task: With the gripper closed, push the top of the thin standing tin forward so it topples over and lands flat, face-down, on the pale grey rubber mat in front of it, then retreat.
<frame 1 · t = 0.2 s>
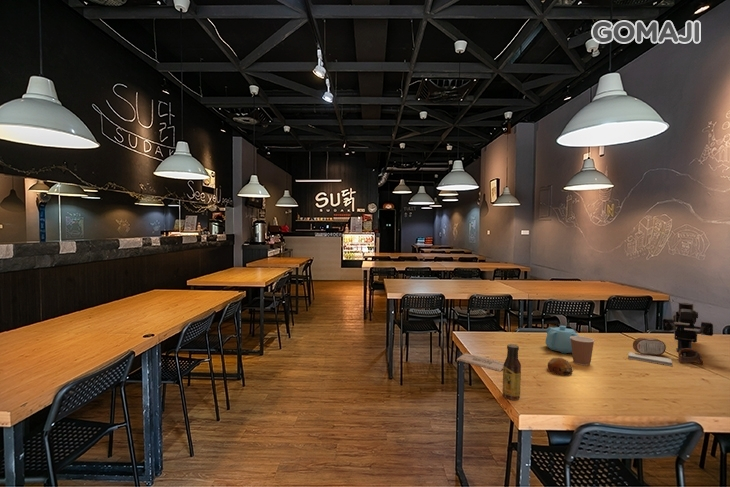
hand: (688, 330, 170), 17 cm above the table, tool horizontal, fingers open, 9 cm apart
decorative pot: (562, 351, 190), on the table
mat: (649, 359, 177), on the table
coffee cup: (581, 363, 170), on the table
pottery mug: (688, 363, 172), on the table
sauce bottle: (511, 397, 132), on the table
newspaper: (482, 364, 170), on the table
bread roll: (560, 372, 159), on the table
tin: (649, 354, 184), on the table, touching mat
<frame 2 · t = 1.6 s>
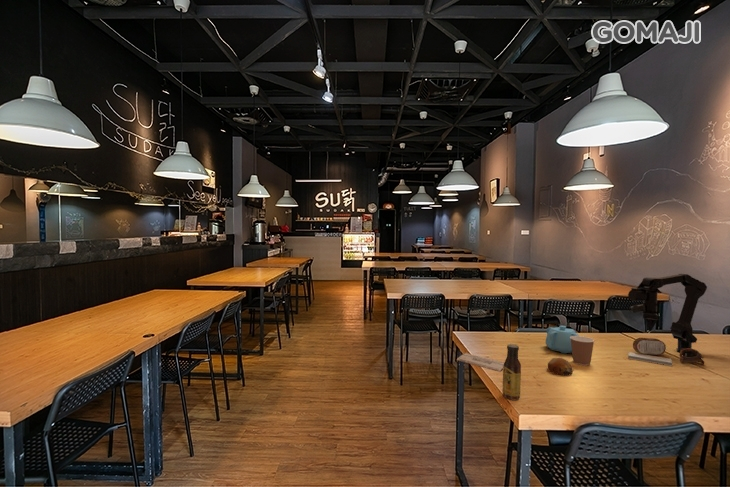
hand: (649, 329, 189), 12 cm above the table, tool pointing down, fingers open, 8 cm apart
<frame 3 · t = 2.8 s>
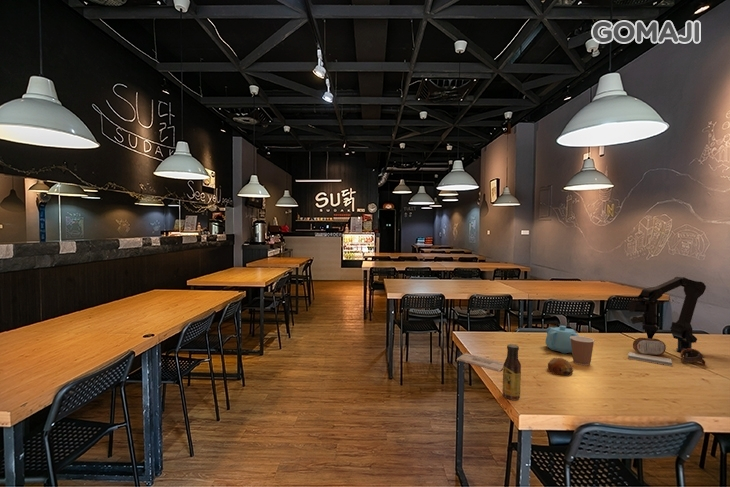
hand: (649, 340, 189), 6 cm above the table, tool pointing down, fingers closed
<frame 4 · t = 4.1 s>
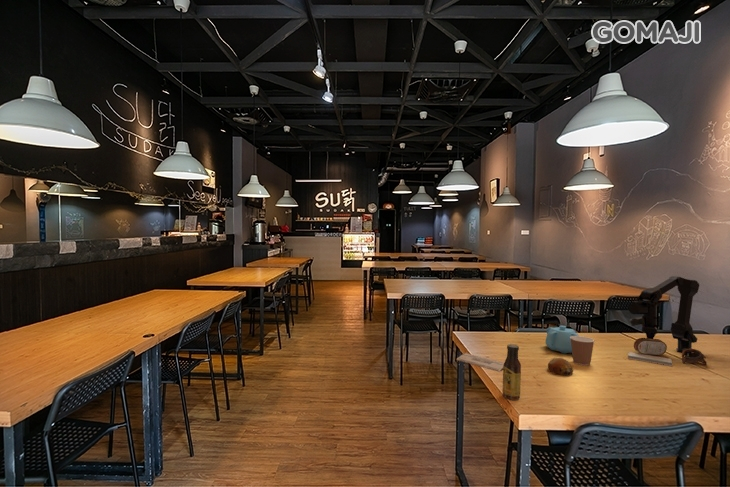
hand: (649, 343, 186), 6 cm above the table, tool pointing down, fingers closed
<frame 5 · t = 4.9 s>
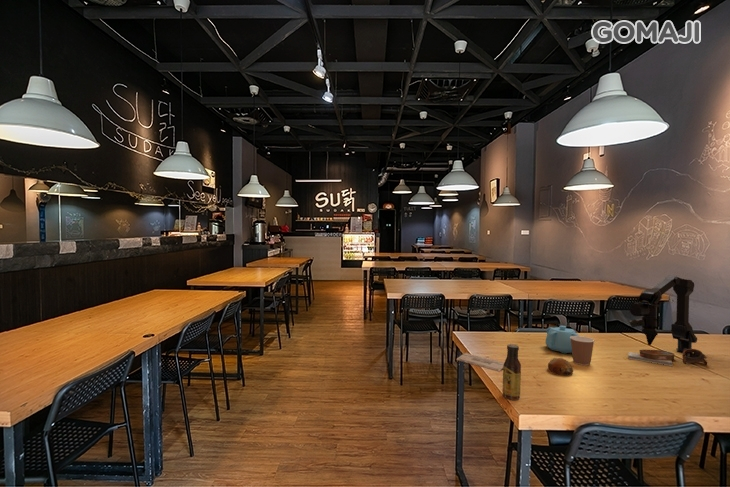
hand: (649, 344, 183), 6 cm above the table, tool pointing down, fingers closed
tin: (650, 352, 183), point 1 cm above the table, touching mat
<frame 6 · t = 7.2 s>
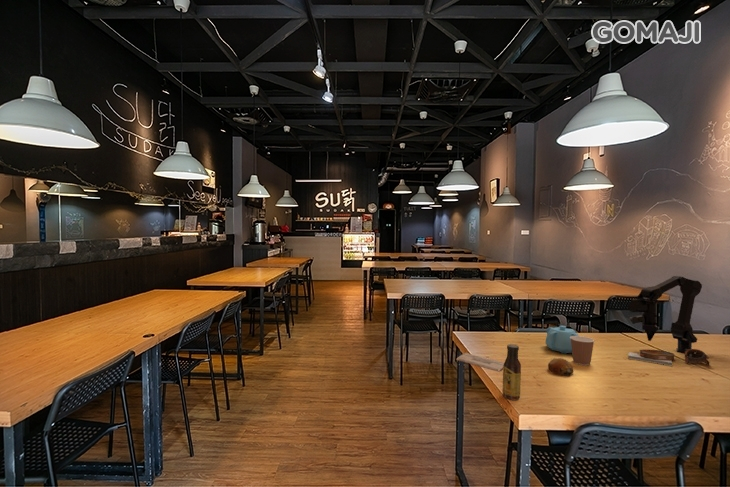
hand: (649, 340, 187), 6 cm above the table, tool pointing down, fingers closed
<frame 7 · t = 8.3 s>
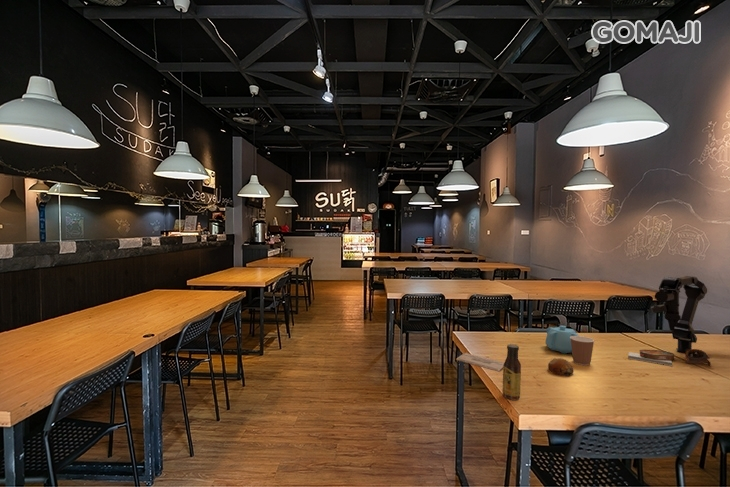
hand: (671, 330, 184), 13 cm above the table, tool pointing down, fingers closed
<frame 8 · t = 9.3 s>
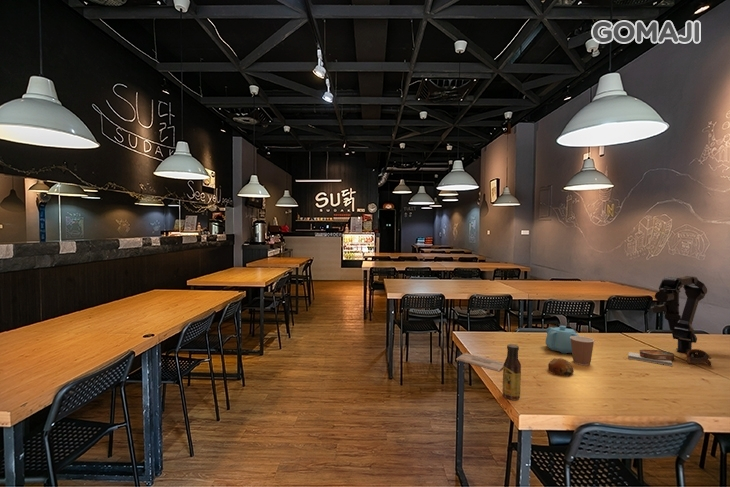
hand: (671, 330, 184), 13 cm above the table, tool pointing down, fingers closed
at the end: tin tilted 86°; tin inside the target area (5.8 cm from its centre), point 1.4 cm above the table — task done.
